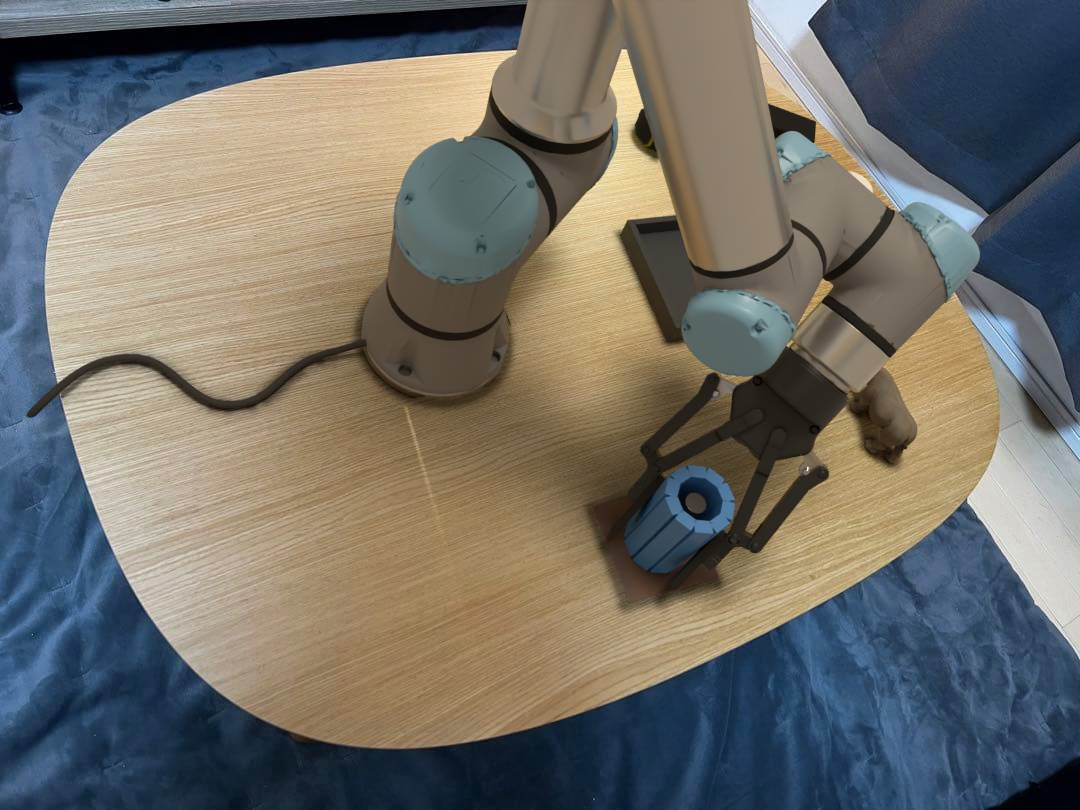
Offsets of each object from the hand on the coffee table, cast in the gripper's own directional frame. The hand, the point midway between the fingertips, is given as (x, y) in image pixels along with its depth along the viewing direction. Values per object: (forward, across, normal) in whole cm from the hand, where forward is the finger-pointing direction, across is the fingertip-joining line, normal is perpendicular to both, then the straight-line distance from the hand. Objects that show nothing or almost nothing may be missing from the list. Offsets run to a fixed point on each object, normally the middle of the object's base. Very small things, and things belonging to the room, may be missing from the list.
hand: (645, 555), depth 79 cm
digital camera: (-39, +24, -44) cm, 63 cm away
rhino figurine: (-22, -8, -28) cm, 37 cm away
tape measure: (-32, +34, -38) cm, 61 cm away
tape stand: (0, 0, -5) cm, 5 cm away
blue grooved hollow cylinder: (0, 0, -5) cm, 5 cm away
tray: (-22, +16, -28) cm, 39 cm away
